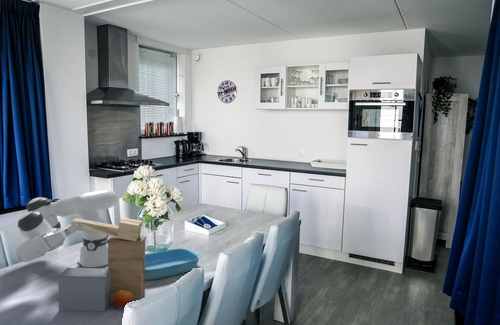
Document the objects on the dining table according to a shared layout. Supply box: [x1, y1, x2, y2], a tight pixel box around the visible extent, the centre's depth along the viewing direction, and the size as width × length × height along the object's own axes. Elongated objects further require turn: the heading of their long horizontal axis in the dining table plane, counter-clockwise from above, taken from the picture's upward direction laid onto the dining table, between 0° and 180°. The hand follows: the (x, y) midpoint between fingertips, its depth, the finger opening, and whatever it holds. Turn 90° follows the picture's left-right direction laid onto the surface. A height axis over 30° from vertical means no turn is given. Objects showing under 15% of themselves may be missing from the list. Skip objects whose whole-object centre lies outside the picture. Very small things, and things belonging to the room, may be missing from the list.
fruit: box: [112, 290, 134, 311], centre depth 150 cm, size 8×8×8 cm
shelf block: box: [107, 235, 147, 301], centre depth 158 cm, size 7×14×26 cm, turn 93°
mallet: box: [70, 217, 143, 241], centre depth 155 cm, size 7×28×7 cm, turn 93°
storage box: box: [57, 267, 112, 312], centre depth 148 cm, size 8×18×14 cm, turn 93°
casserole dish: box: [145, 247, 200, 281], centre depth 188 cm, size 37×22×7 cm, turn 128°
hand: (81, 223), depth 155 cm, fingers closed on mallet, 4 cm apart
